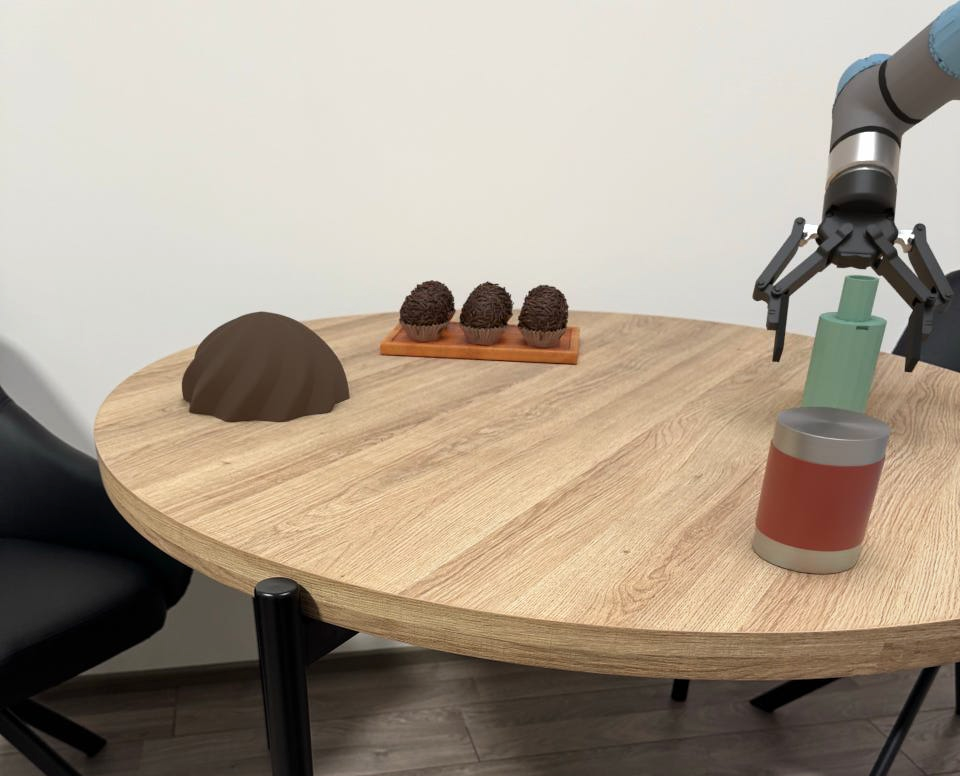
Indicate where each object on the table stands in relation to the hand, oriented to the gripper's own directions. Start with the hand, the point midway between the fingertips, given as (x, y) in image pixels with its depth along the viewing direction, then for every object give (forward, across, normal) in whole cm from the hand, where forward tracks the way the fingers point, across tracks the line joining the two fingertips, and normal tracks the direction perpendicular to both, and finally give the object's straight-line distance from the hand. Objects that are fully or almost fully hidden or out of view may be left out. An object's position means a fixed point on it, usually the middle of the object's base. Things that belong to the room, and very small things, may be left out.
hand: (844, 360), depth 96 cm
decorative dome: (+8, +65, -4) cm, 66 cm away
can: (+28, +4, +16) cm, 32 cm away
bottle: (+6, 0, -7) cm, 9 cm away
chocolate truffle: (-16, +46, -28) cm, 56 cm away
